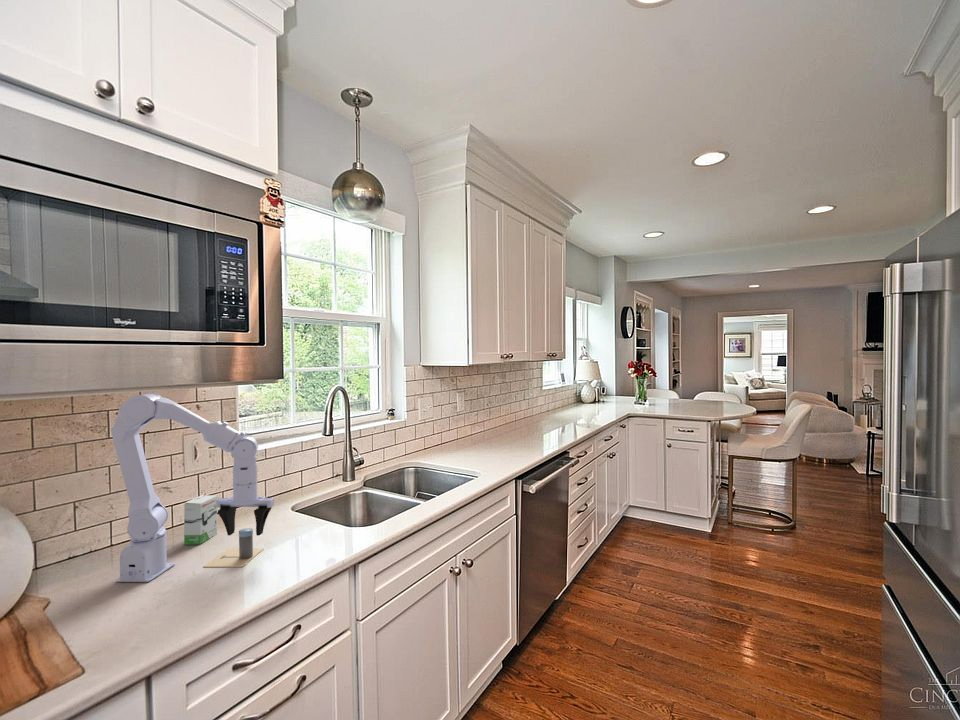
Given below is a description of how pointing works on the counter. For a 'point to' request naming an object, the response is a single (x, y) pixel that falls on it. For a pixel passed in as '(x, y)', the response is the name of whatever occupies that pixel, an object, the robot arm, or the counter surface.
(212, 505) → the ink box
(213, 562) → the tan square board
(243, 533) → the marker
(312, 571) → the counter surface
